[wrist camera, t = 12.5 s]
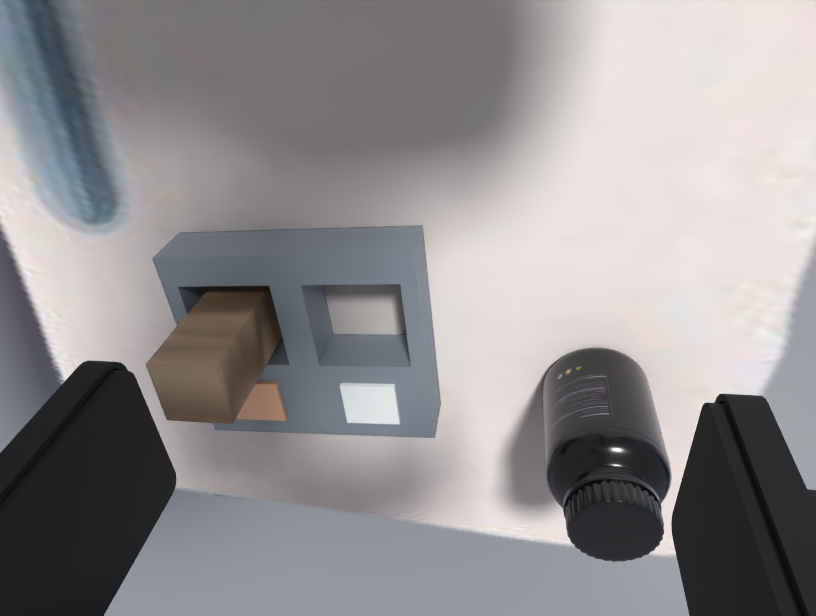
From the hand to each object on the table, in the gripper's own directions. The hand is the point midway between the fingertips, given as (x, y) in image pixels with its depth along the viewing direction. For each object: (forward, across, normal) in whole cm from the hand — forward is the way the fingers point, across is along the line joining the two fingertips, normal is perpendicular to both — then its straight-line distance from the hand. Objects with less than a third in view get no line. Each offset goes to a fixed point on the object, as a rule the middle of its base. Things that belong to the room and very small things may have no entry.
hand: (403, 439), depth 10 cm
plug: (+26, +15, +15) cm, 33 cm away
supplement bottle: (+26, -7, +21) cm, 34 cm away
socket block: (+26, +11, +17) cm, 33 cm away
